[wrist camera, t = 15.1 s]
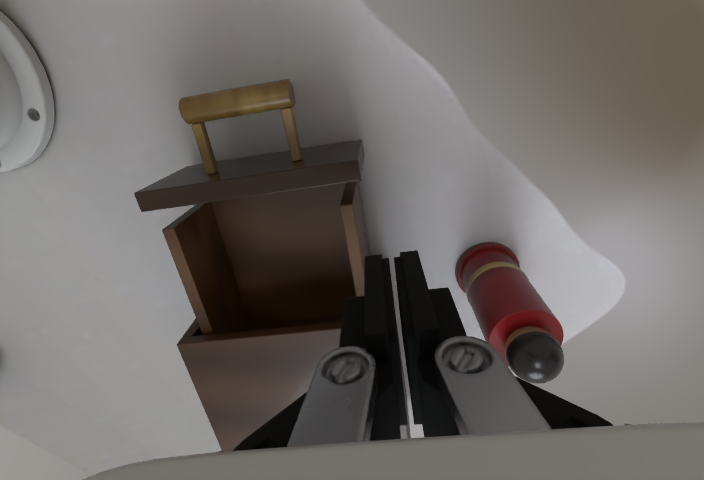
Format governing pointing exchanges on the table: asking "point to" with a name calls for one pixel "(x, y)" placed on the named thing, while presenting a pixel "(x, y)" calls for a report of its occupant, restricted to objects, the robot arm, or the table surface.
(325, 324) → the cabinet
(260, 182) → the drawer
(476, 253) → the red cylinder
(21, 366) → the table surface
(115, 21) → the table surface
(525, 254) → the table surface
